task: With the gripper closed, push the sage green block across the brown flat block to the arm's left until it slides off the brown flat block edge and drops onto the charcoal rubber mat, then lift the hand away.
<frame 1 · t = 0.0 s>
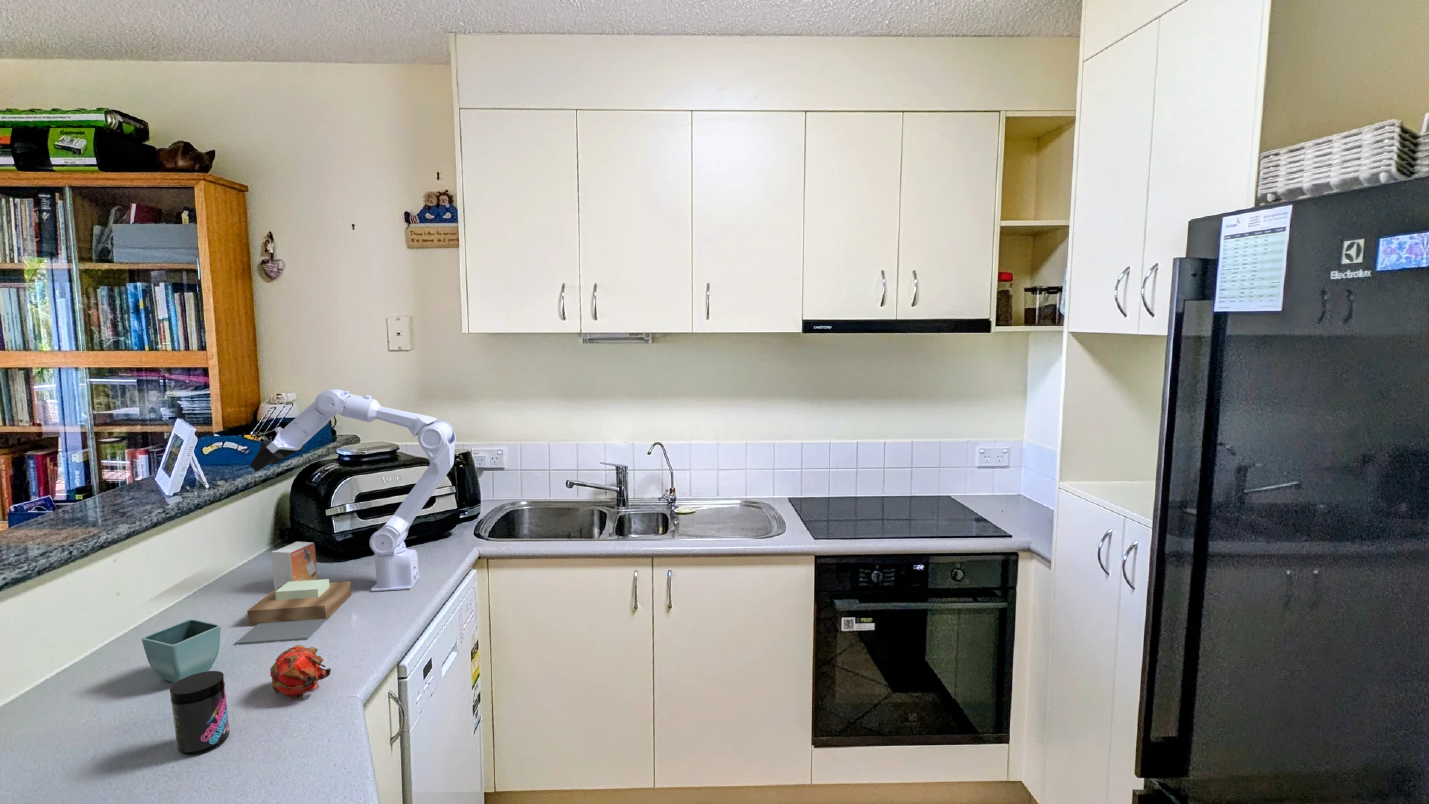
hand: (262, 464, 160), 32 cm above the counter, tool tilted 50°, fingers open, 7 cm apart
flower pot: (187, 677, 126), on the counter
brown flat block: (302, 609, 154), on the counter
dragon fruit: (300, 692, 120), on the counter
small box: (297, 587, 168), on the counter
supplement container: (204, 745, 105), on the counter
mat: (282, 632, 143), on the counter
sage green block: (303, 593, 155), point 3 cm above the counter, touching brown flat block
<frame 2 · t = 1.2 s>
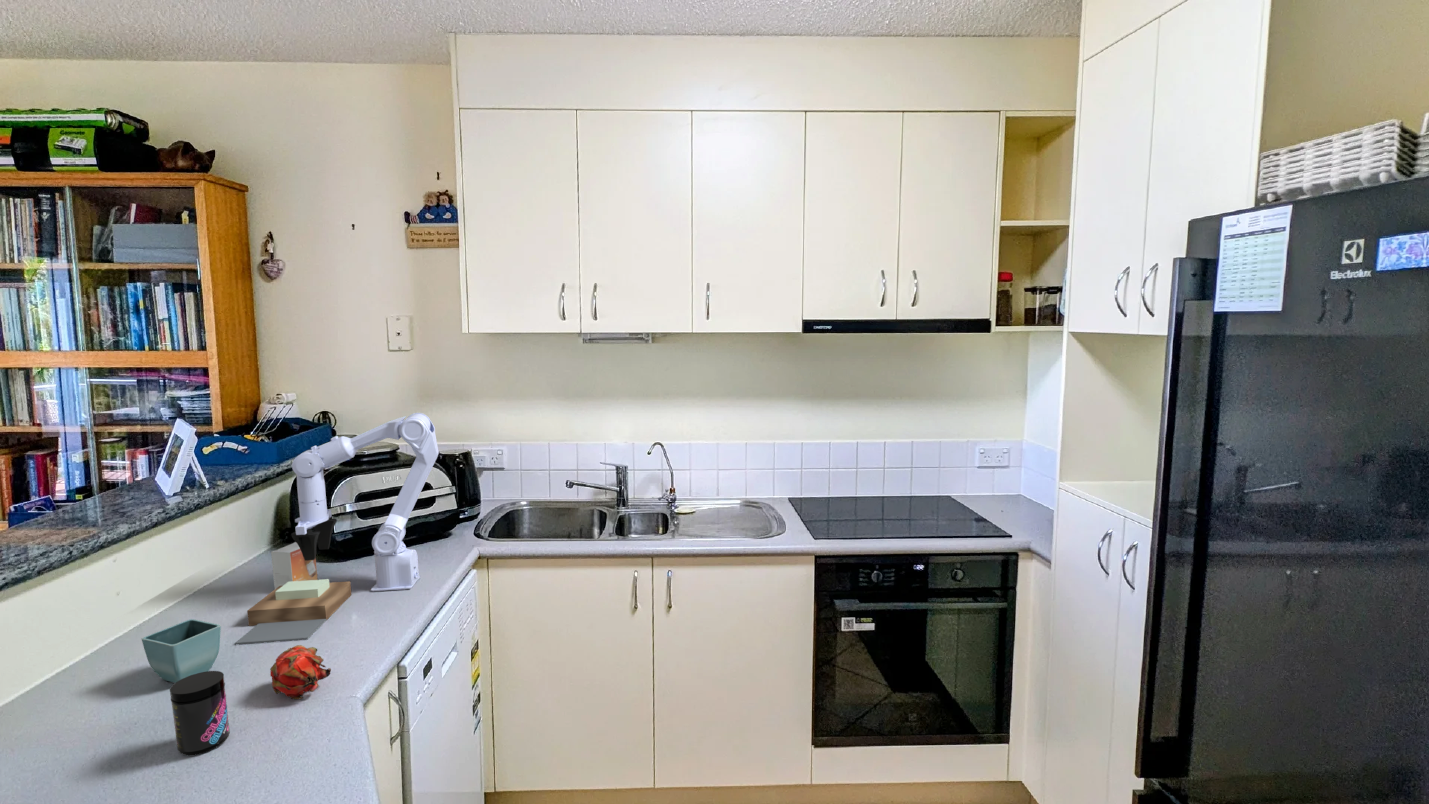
hand: (317, 554, 162), 10 cm above the counter, tool pointing down, fingers open, 7 cm apart
nothing on the counter moved.
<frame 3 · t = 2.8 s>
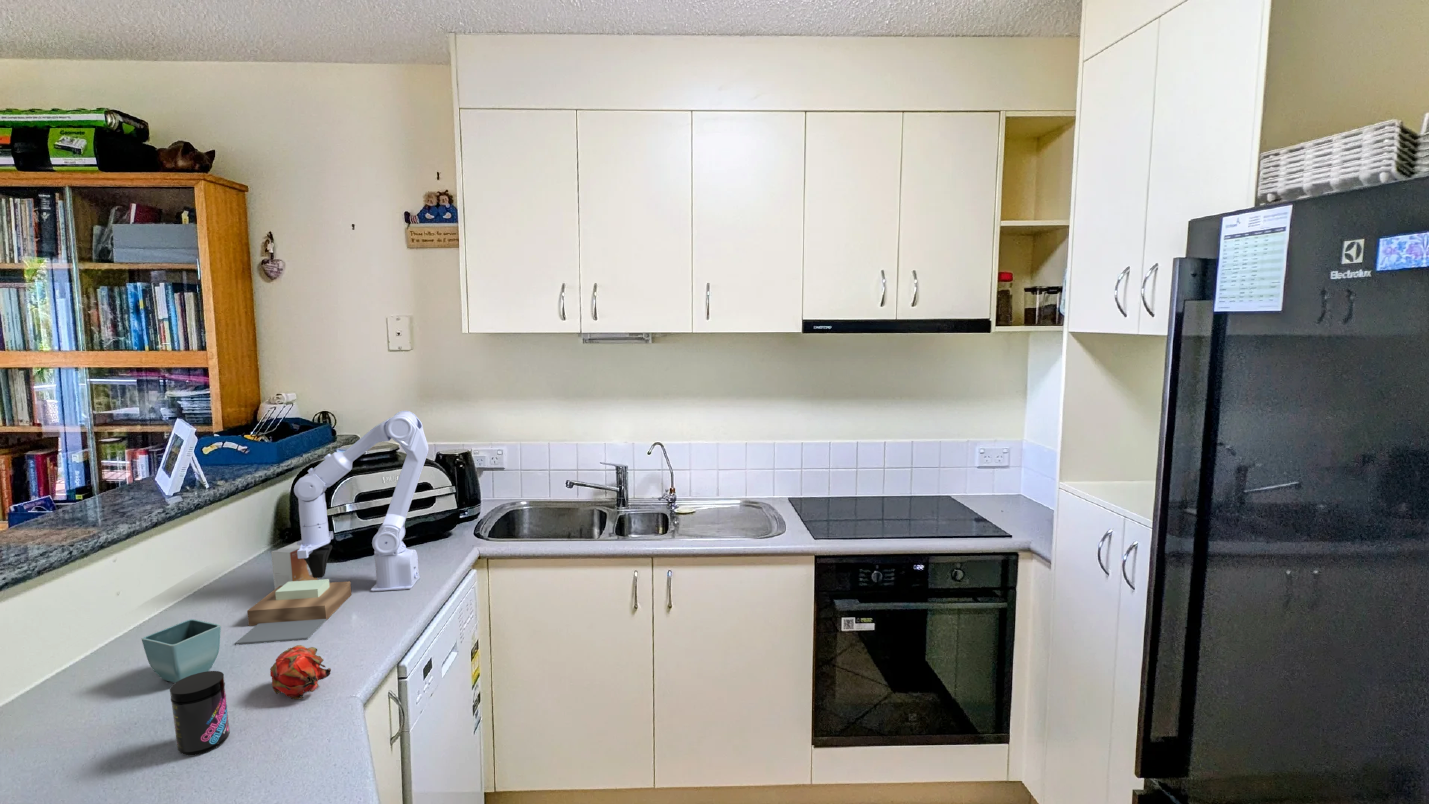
hand: (319, 576, 163), 4 cm above the counter, tool pointing down, fingers closed
nothing on the counter moved.
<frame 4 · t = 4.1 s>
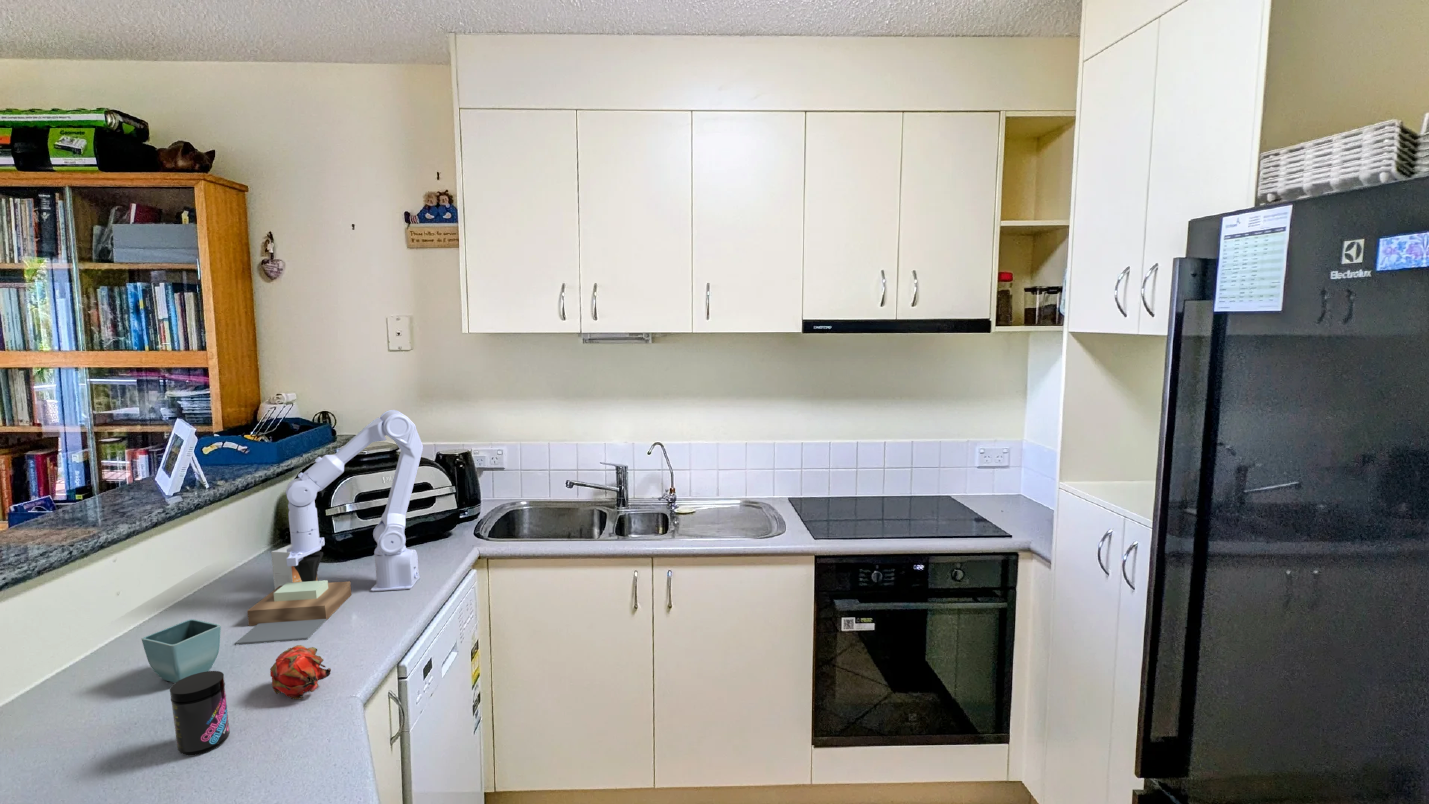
hand: (309, 584, 158), 4 cm above the counter, tool pointing down, fingers closed
sage green block: (301, 594, 154), point 3 cm above the counter, touching brown flat block, gripper
everything else where it was.
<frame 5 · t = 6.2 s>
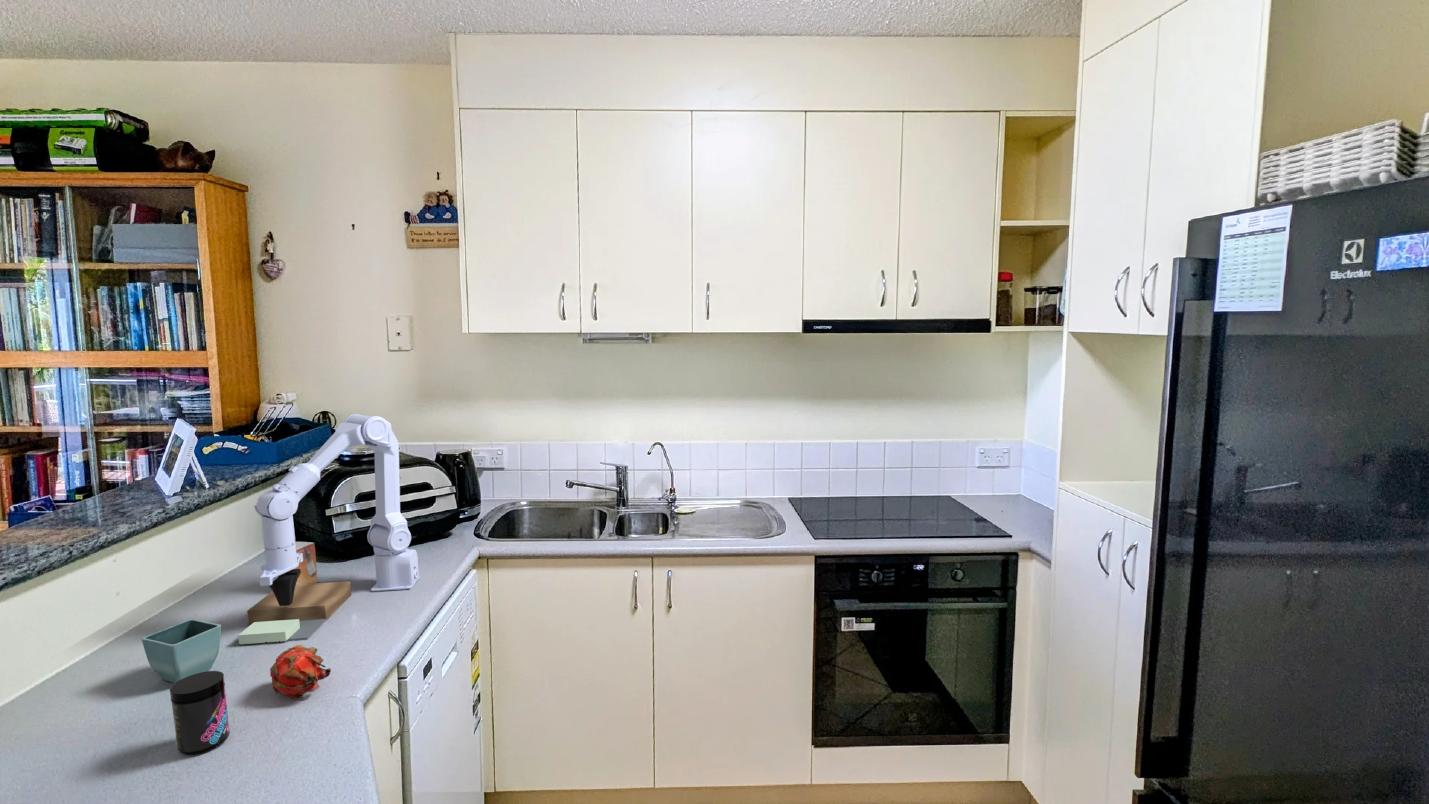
hand: (285, 604, 147), 4 cm above the counter, tool pointing down, fingers closed
sage green block: (269, 626, 140), point 2 cm above the counter, tilted 180°, touching mat
everything else where it was.
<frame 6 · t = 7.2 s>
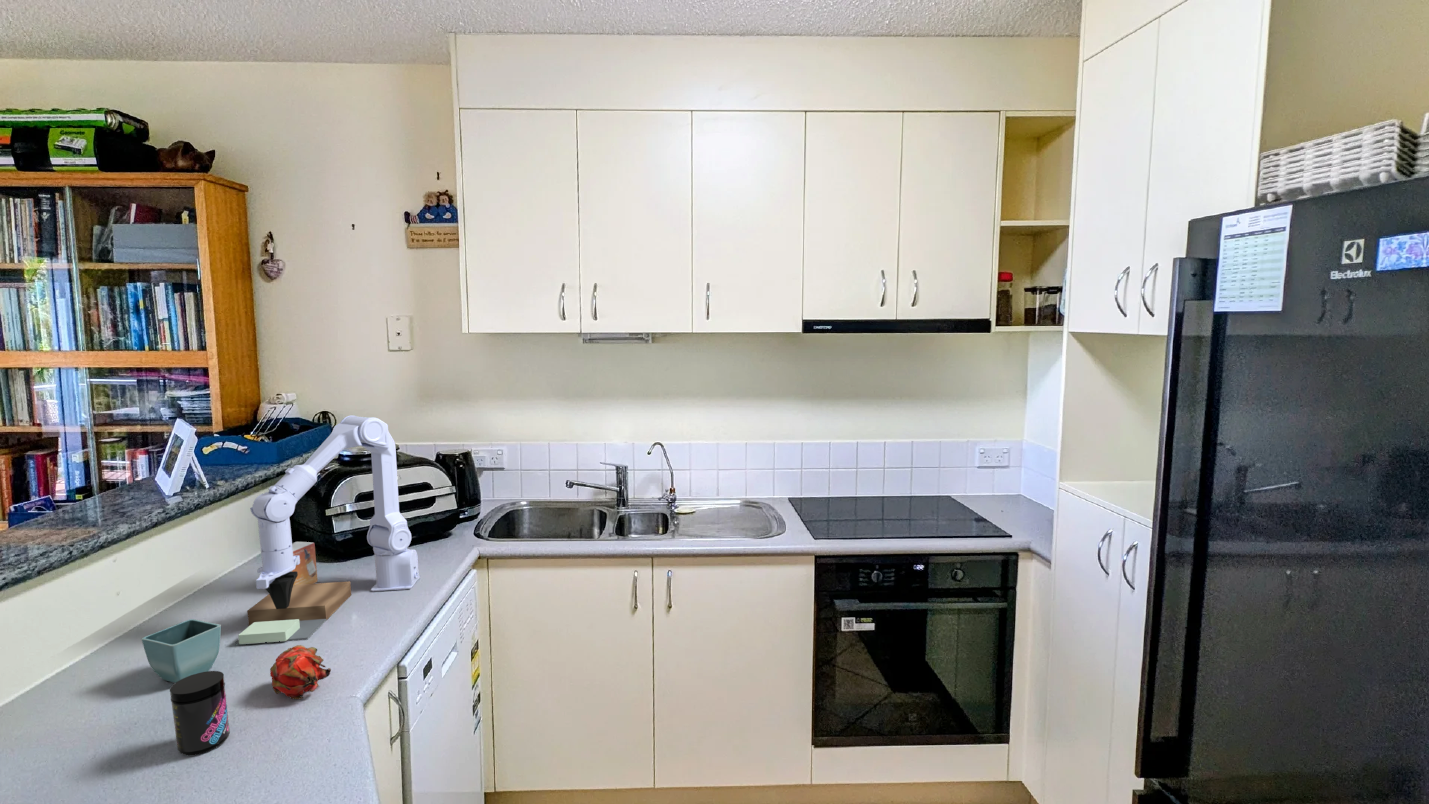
hand: (282, 607, 145), 4 cm above the counter, tool pointing down, fingers closed
nothing on the counter moved.
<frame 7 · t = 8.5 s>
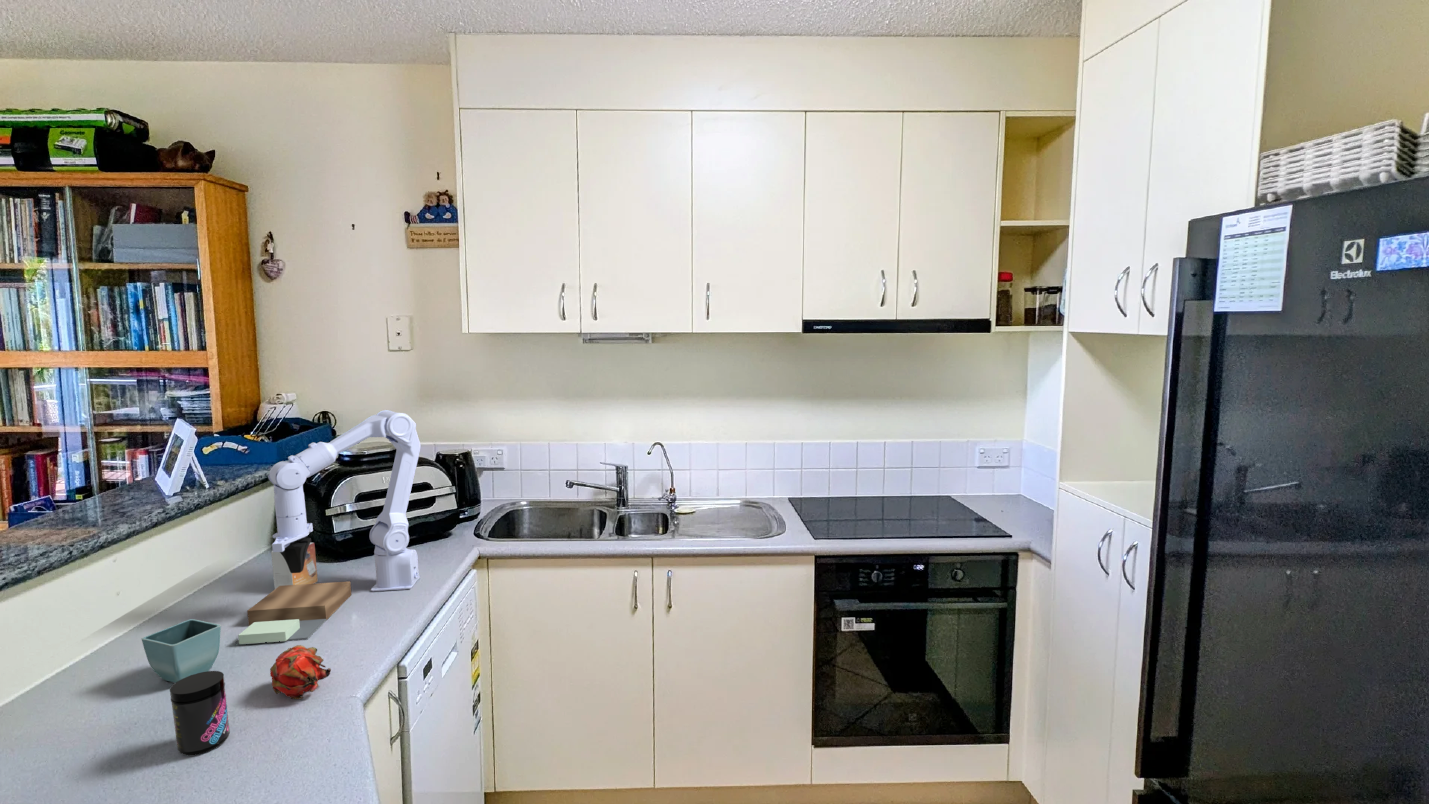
hand: (297, 571, 152), 10 cm above the counter, tool pointing down, fingers closed
nothing on the counter moved.
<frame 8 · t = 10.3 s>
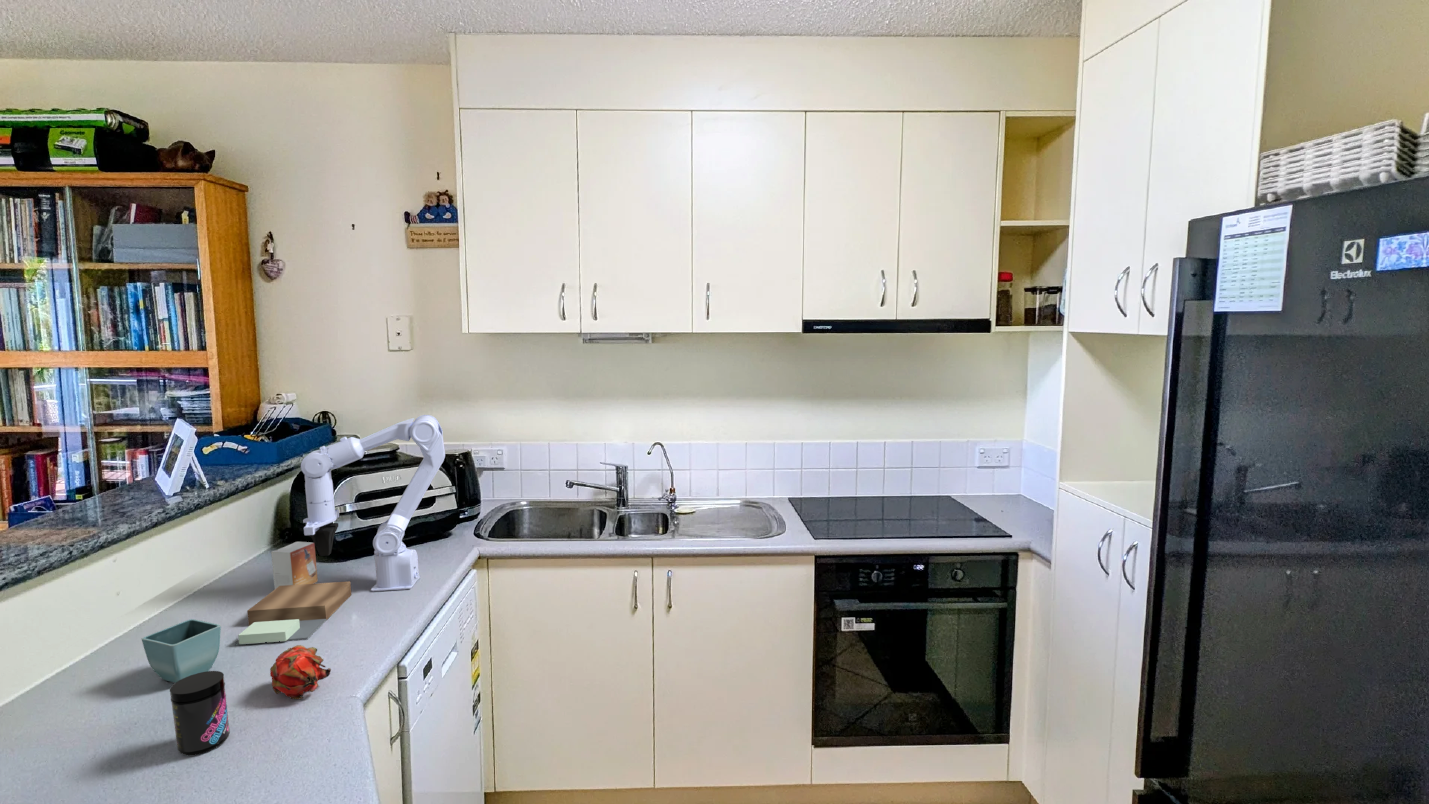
hand: (325, 554, 162), 10 cm above the counter, tool pointing down, fingers closed
nothing on the counter moved.
at the end: sage green block point 2.4 cm above the counter; sage green block inside the target area on the mat (2.2 cm from its centre), point 2.4 cm above the mat's base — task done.
